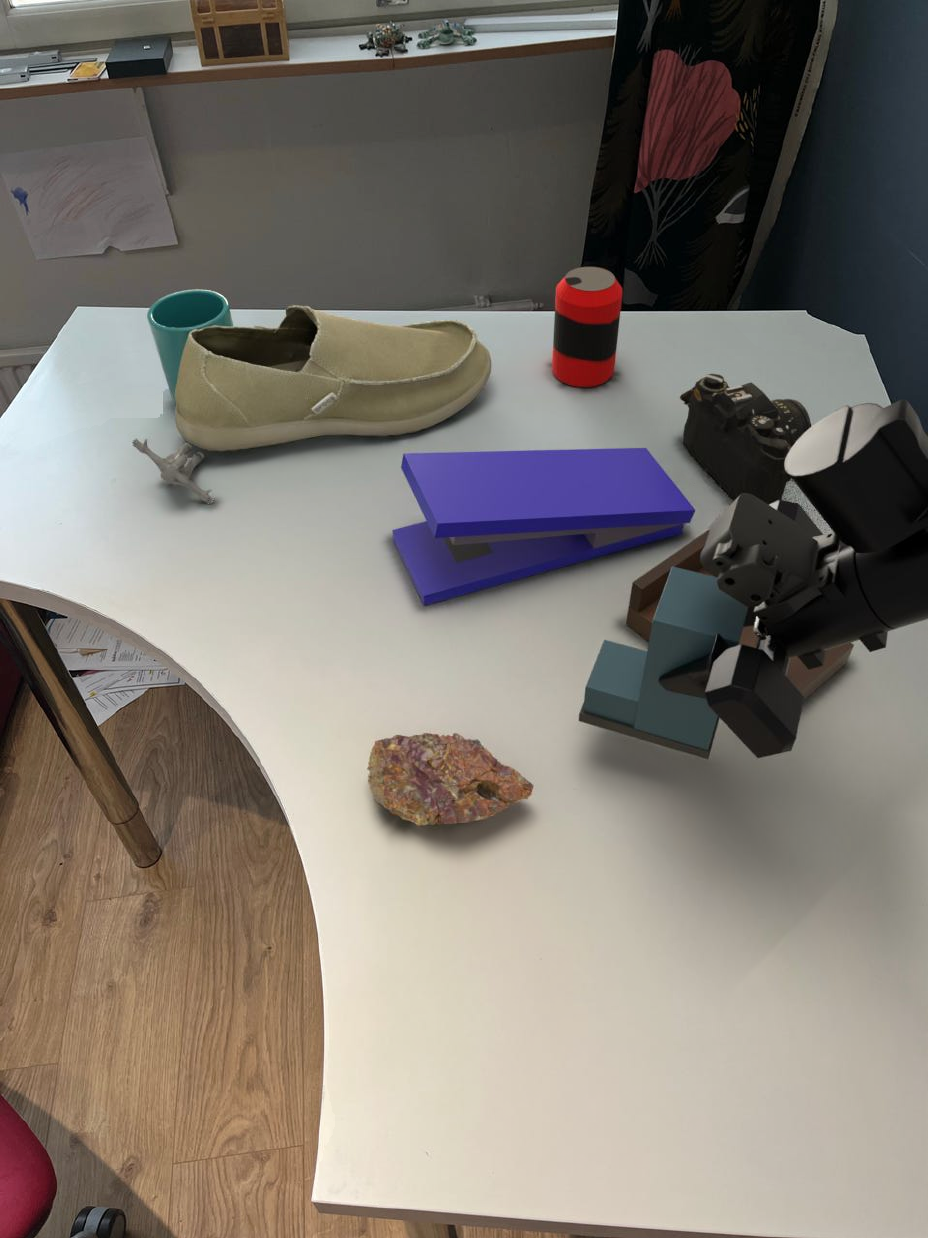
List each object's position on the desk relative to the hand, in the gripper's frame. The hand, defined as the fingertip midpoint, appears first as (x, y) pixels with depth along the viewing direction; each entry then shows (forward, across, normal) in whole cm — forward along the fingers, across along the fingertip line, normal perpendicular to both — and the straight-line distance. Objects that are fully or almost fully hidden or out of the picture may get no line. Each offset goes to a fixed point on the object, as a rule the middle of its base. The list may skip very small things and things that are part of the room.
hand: (671, 654), depth 66 cm
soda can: (+24, -52, -6) cm, 58 cm away
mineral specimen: (+19, +10, -1) cm, 21 cm away
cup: (+53, -33, -36) cm, 72 cm away
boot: (+6, 0, +5) cm, 7 cm away
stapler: (+21, -22, -3) cm, 30 cm away
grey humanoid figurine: (+48, -16, -31) cm, 59 cm away
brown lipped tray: (+6, -14, +12) cm, 19 cm away
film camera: (+9, -40, +9) cm, 42 cm away
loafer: (+41, -34, -24) cm, 58 cm away
